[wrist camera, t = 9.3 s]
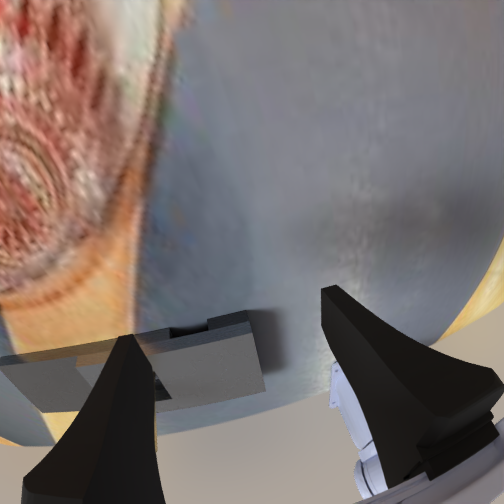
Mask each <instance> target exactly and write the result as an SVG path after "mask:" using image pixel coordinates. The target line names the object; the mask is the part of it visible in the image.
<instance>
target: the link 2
mask: <svg viewBox="0 0 504 504" xmlns="http://www.w3.org/2000/svg"><path fill="white" fill-rule="evenodd" d="M207 322H208V329H209V331H205V332H200V333H196V334H191V335H187V336H182V337H177V338H173V339H168V340H163V341H158V342H153V343H148V344H143V345H140V347H141V349H142V350H143V352H144V354H145V355H146V357H147V359H148V360H149V362H150V364H151V365H152V369H153V371H155V373H156V375H157V376H158V378H159V379H160V381H161V382H162V384H163V385H164V387H165V388H166V389H162V390H156V391H155V397H156V413H159V412H166V411H172V410H178V409H184V408H190V407H196V406H201V405H206V404H211V403H216V402H221V401H226V400H230V399H235V398H239V397H244V396H248V395H252V394H256V393H260V392H264V391H266V389H265V385H264V380H263V376H262V372H261V368H260V363H259V359H258V355H257V351H256V346H255V342H254V338H253V333H252V330H251V326H250V322H249V319H248V315H247V312H246V310H244V311H240V312H236V313H232V314H228V315H224V316H219V317H215V318H211V319H207ZM110 352H111V350H110V351H105V352H99V353H93V354H87V355H80V356H78V357H77V362H76V367H75V368H76V369H77V370H78V371H79V372H80V374H81V375H82V376H83V377H84V379H85V380H86V381H87V382H88V383H89V384H90V386H91V387H92V388H93V387H94V385H95V383H96V381H97V379H98V377H99V375H100V373H101V371H102V369H103V367H104V365H105V363H106V361H107V359H108V357H109V355H110Z"/></svg>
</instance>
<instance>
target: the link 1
mask: <svg viewBox="0 0 504 504" xmlns="http://www.w3.org/2000/svg"><path fill="white" fill-rule="evenodd" d="M134 337H135V338H136V340H137V342H138V344H139V345H143V344H148V343H153V342H158V341H163V340H168V339H173V338H174V337H173V335H172V333H171V330H170V328H166V329H161V330H156V331H151V332H147V333H142V334H137V335H134ZM116 340H117V338H116V339H111V340H105V341H100V342H94V343H89V344H83V345H77V346H72V347H66V348H59V349H53V350H47V351H40V352H34V353H27V354H20V355H13V356H5V357H1V358H0V370H1V371H2V372H3V373H4V375H5V376H6V377H7V378H8V379H9V380H10V381H11V382H12V383H13V384H14V385H15V386H16V387H17V388H18V389H19V390H20V391H21V393H22V394H23V395H24V396H25V397H26V398H27V399H29V400H30V401H31V402H32V403H33V404H34V405H35V406H36V407H37V408H38V409H39V410H40V411H41V412H42V413H51V412H71V411H80V410H81V408H82V407H83V405H84V403H85V402H86V400H87V398H88V396H89V394H90V392H91V390H92V389H93V388H92V387H91V386H90V384H89V383H88V382H87V381H86V380H85V379H84V377H83V376H82V375H81V374H80V372H79V371H78V370H77V369H76V368H75V367H76V362H77V357H78V356H80V355H87V354H93V353H99V352H105V351H110V350H112V348H113V346H114V344H115V342H116ZM162 389H166V388H165V387H164V385H163V384H162V382H161V381H160V379H158V380H155V391H156V390H162Z"/></svg>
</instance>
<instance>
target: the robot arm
mask: <svg viewBox="0 0 504 504" xmlns="http://www.w3.org/2000/svg"><path fill="white" fill-rule="evenodd" d="M321 326H322V329H323V331H324V334H325V337H326V339H327V342H328V344H329V347H330V349H331V351H332V353H333V354H334V356H335V358H336V360H337V362H336V363H334V364H333V365H332V372H331V386H330V399H329V407H330V408H335V407H338V408H339V410H340V412H341V415H342V417H343V419H344V421H345V424H346V426H347V428H348V431H349V433H350V436H351V438H352V440H353V442H354V444H355V445H356V447H357V448H358V449H360V450H361V451H359V452H358V454H359V456H360V460H358V461H357V462H356V466H355V469H354V478H355V482H356V485H357V487H358V490H359V492H360V494H361V496H362V497H363V499H364V500H362V501H359V502H357V503H354V504H490V503H491V502H492V501H494V500H495V499H496V498H497V497H498V496H500V495H501V494H502V493H503V492H504V418H502V419H501V420H500V421H499V422H498V423H496V424H495V425H494V424H493V422H492V421H491V420H492V419H493V418H494V416H493V414H492V412H491V411H490V410H491V408H492V407H493V406H494V405H495V404H496V402H497V401H498V400H499V398H500V397H501V396H502V394H503V393H504V384H503V382H502V381H501V380H500V378H499V377H498V375H497V374H496V373H495V372H494V370H493V369H492V368H488V367H483V366H480V365H476V364H472V363H468V362H465V361H462V360H459V359H456V358H453V357H450V356H448V355H445V354H443V353H441V352H438V351H436V350H434V349H431V348H429V347H427V346H425V345H423V344H421V343H419V342H417V341H415V340H413V339H412V338H410V337H408V336H406V335H405V334H403V333H401V332H400V331H398V330H396V329H395V328H393V327H392V326H390V325H389V324H387V323H386V322H384V321H383V320H381V319H380V318H379V317H377V316H376V315H375V314H373V313H372V312H371V311H369V310H368V309H366V308H365V307H364V306H363V305H361V304H360V303H359V302H357V301H356V300H355V299H354V298H352V297H351V296H350V295H349V294H348V293H346V292H345V291H344V290H343V289H341V288H340V287H339V286H337V285H333V286H329V287H326V288H322V289H321ZM154 415H155V388H154V378H153V369H152V365H151V364H150V362H149V360H148V359H147V357H146V355H145V354H144V352H143V350H142V349H141V347H140V345H139V344H138V342H137V340H136V338H135V337H134V335H133V334H129V335H124V336H119V337H118V338H117V340H116V342H115V344H114V346H113V348H112V350H111V352H110V355H109V357H108V359H107V361H106V363H105V365H104V367H103V369H102V371H101V373H100V375H99V377H98V379H97V381H96V383H95V385H94V387H93V389H92V390H91V392H90V394H89V396H88V398H87V400H86V402H85V403H84V405H83V407H82V408H81V410H80V412H79V413H78V415H77V416H76V418H75V419H74V421H73V422H72V424H71V425H70V427H69V428H68V429H67V431H66V432H65V433H64V435H63V436H62V437H61V439H60V440H59V441H58V443H57V444H56V445H55V446H54V447H53V449H52V450H51V451H50V452H49V453H48V454H47V455H46V456H45V457H44V458H43V460H42V461H41V462H40V463H39V464H38V465H36V466H35V467H34V468H33V469H32V470H31V471H30V472H29V473H28V474H27V475H26V476H25V477H24V478H23V486H22V498H21V504H166V503H165V499H164V495H163V491H162V487H161V481H160V476H159V471H158V464H157V458H156V451H155V430H154Z"/></svg>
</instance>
